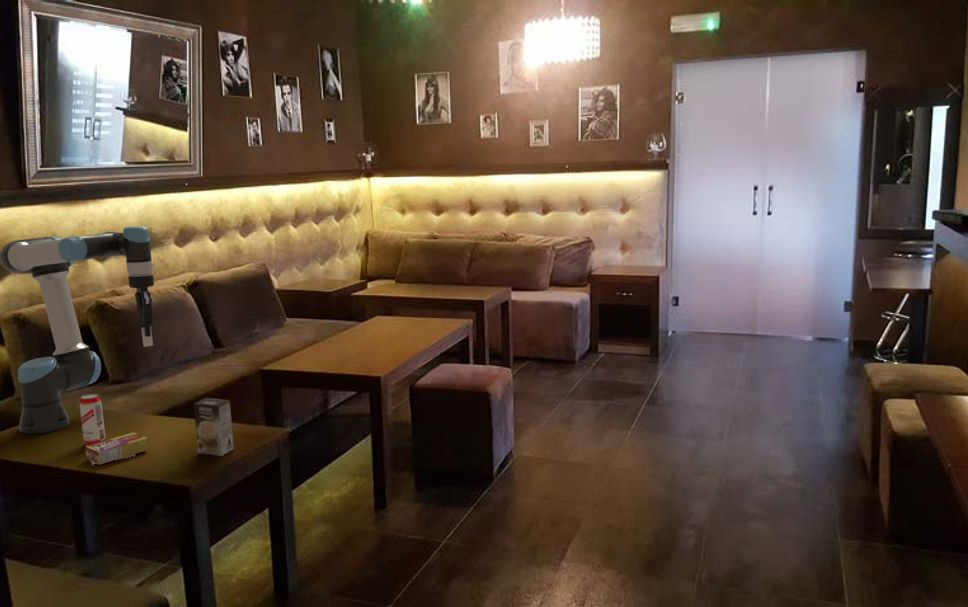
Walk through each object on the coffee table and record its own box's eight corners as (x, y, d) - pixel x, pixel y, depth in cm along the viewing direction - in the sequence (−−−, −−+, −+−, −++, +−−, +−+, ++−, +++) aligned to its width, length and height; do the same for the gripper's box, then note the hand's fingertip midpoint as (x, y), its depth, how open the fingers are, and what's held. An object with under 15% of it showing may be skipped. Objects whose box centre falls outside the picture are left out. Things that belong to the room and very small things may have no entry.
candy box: (135, 444, 252) (86, 458, 241) (134, 431, 252) (84, 444, 240) (148, 451, 247) (99, 465, 235) (147, 437, 246) (97, 451, 235)
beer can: (97, 447, 251) (91, 399, 248) (80, 446, 253) (73, 398, 250) (110, 440, 257) (104, 393, 254) (93, 440, 259) (87, 392, 256)
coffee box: (196, 453, 244) (192, 403, 241) (210, 446, 250) (205, 397, 247) (222, 456, 241) (217, 405, 238) (235, 449, 247) (230, 399, 244)
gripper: (157, 275, 253) (165, 347, 257) (148, 271, 263) (155, 340, 268) (132, 277, 249) (140, 351, 253) (124, 273, 259) (131, 344, 263)
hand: (148, 345), depth 260 cm, fingers closed
